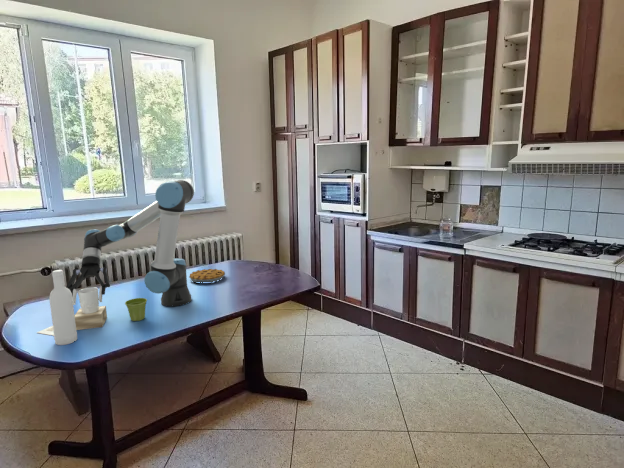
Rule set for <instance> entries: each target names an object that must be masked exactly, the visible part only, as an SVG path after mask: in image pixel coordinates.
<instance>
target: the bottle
mask: <svg viewBox="0 0 624 468" xmlns="http://www.w3.org/2000/svg"><path fill="white" fill-rule="evenodd" d="M51 277H52V281H53V289H52V290H51V292H50V293H49V297H48V298H49V306H50V308H49V309H50V315H51V320H52V326H53V330H54V342H55V345H58V346H65V345H70V344H73V343H74V341H75V342H76V341H77V340H78V332H77V331H78V330H76V323H75V308H74V305H73V299H72V293H71V291H70V290H69V289H68V288H66V287H67V286H65V285H66V284H65V278H64V271H63V270H62V269H56V270H53V271H51Z"/></svg>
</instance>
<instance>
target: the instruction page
mask: <svg viewBox="0 0 624 468" xmlns="http://www.w3.org/2000/svg"><path fill="white" fill-rule="evenodd" d="M36 334H39V335H40V334H41V335H45V336H51V335H52V336H51V337H53V336H54V330H53V325H50V326H49V327H46V328H44V329H41V330H39V331H36Z"/></svg>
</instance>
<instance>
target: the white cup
mask: <svg viewBox="0 0 624 468" xmlns="http://www.w3.org/2000/svg"><path fill="white" fill-rule="evenodd" d="M77 295H78V300H79V303H80V308H81V310H82V313H84V314H90V313H94V312H97V311H98V310H99V304H100V301H99V289H98V287H96V286H95V287H94V286H93V287H92V286H89V287H84V288H82V289H79V290H77Z"/></svg>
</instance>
